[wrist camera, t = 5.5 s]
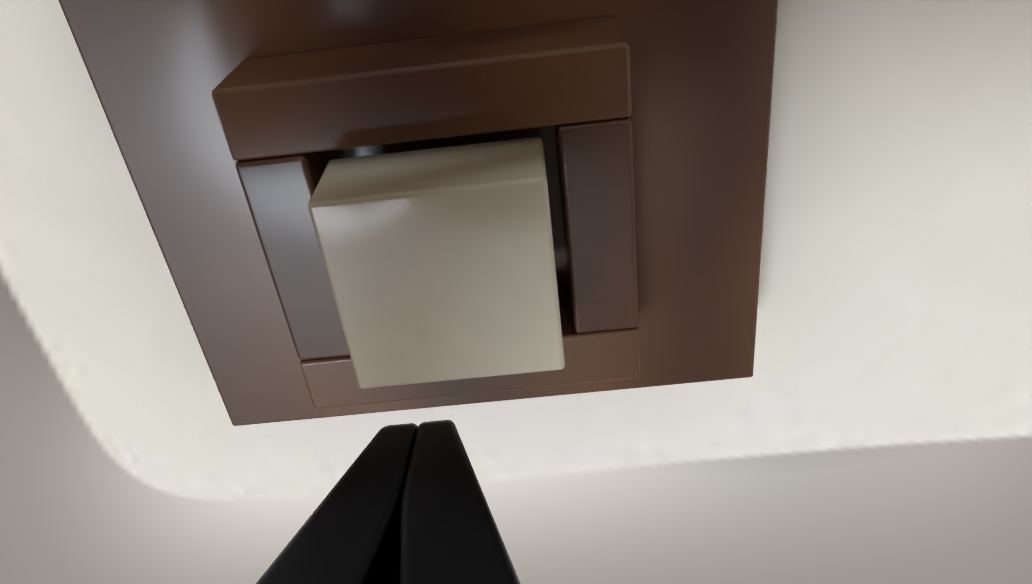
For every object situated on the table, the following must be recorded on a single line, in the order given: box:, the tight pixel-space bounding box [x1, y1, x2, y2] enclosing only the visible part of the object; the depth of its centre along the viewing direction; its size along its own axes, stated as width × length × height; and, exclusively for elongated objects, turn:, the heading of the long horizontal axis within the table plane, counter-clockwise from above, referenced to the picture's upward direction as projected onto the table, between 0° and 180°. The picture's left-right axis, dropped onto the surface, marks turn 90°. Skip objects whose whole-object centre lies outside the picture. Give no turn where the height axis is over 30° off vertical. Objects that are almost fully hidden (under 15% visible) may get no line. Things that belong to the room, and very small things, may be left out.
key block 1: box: [59, 0, 778, 426], centre depth 15 cm, size 12×10×4 cm
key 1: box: [308, 137, 565, 389], centre depth 13 cm, size 4×4×2 cm
